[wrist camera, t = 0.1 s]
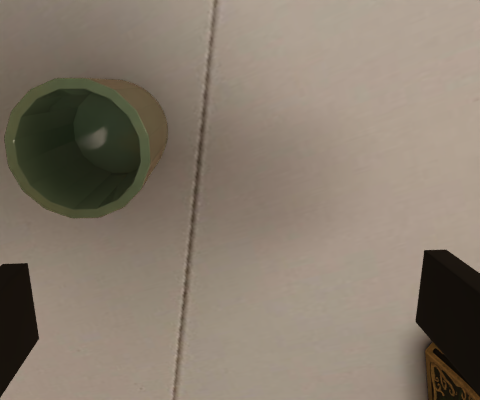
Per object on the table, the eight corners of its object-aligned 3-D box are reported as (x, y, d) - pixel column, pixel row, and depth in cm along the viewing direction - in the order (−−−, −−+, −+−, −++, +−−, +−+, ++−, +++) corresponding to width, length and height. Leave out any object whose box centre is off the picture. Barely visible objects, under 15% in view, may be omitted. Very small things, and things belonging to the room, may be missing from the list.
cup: (64, 80, 29) (-6, 78, 20) (165, 79, 30) (145, 77, 20) (75, 178, 31) (15, 220, 22) (170, 176, 32) (153, 216, 22)
